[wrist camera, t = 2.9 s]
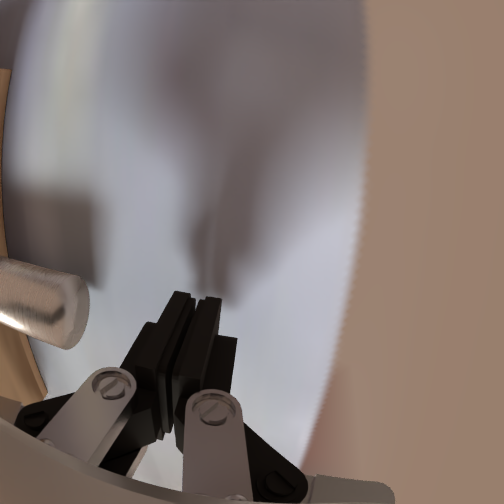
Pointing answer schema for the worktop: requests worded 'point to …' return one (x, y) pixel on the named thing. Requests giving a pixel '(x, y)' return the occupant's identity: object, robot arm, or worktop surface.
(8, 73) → the beam block
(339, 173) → the worktop surface
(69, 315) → the axle
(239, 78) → the worktop surface
